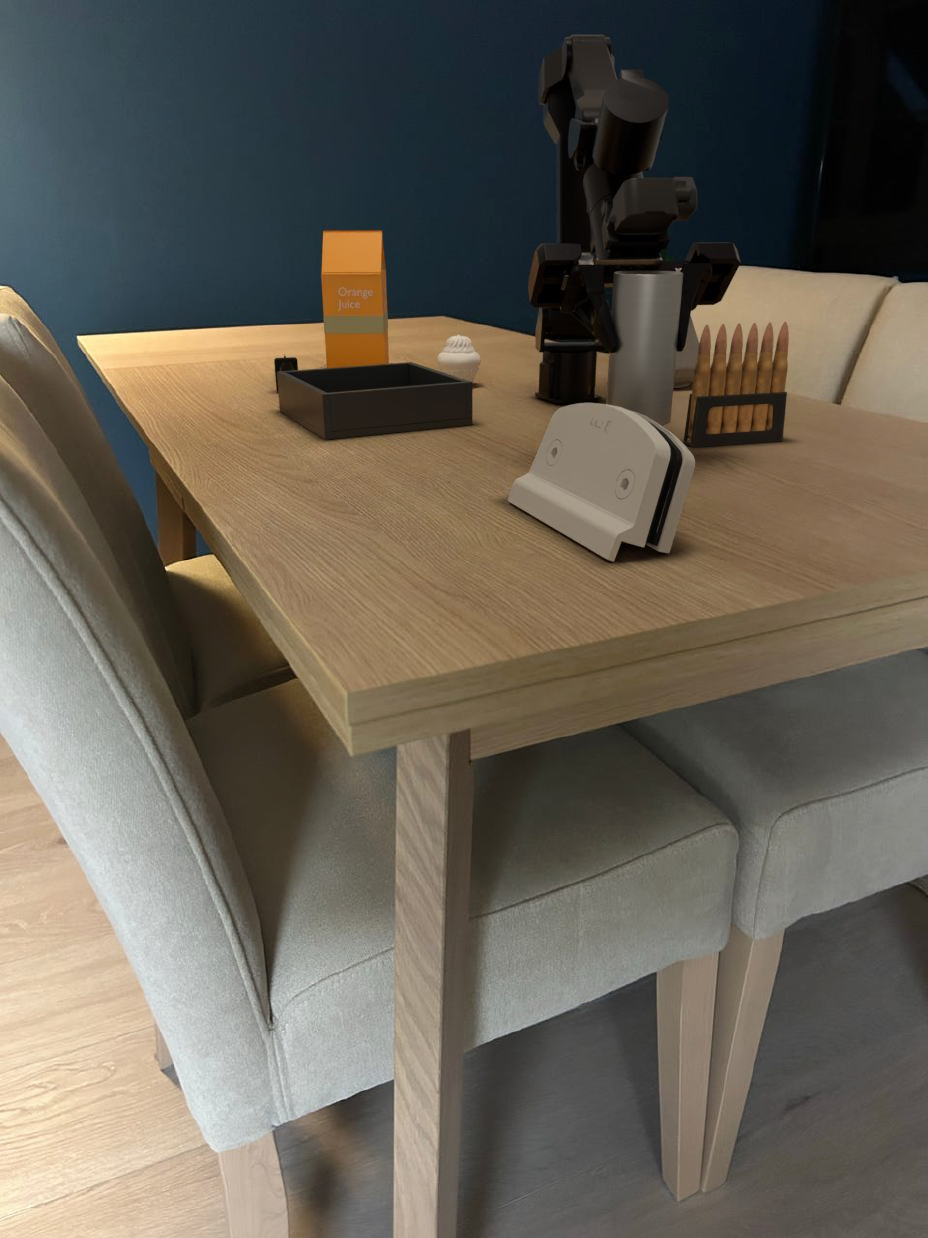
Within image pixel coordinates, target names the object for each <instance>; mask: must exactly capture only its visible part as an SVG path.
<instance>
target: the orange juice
mask: <svg viewBox="0 0 928 1238" xmlns="http://www.w3.org/2000/svg"><path fill="white" fill-rule="evenodd" d="M321 256H322V258H321V271H320V279H321V292H322V293H321V295H322V309H323V310H322V311H323V312H322V313H323V332H324V333H323V334H324V344H325V360H326V362H325V363H326V368H335V367H349V366H363V365H377V364H390V353H389V352H390V351H389V315H388V294H387V269H386V268H387V267H386V258H385V248H384V238H383V230H380V229H379V230H377V229H375V230H322V253H321Z"/></svg>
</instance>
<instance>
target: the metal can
mask: <svg viewBox="0 0 928 1238" xmlns="http://www.w3.org/2000/svg"><path fill="white" fill-rule="evenodd" d="M682 282H683V273H682V272H675V271H648V270H639V271H617V272H614V280H613V287H612V297H611V298H612V300H611V312H612V314H611V318H612V321H613V325H614V329H615V335H616V343H617V347H616V350H615V352H614V353H609V352H608V364H607V365H608V366H607V382H606V384H607V385H606V401H605V402H606V403H605V404H608V405H613V406H618V407H622V408H625V409H627V410H629V411H633V412H637V413H639V414H642V415H644V416H646V417H648V418H650V419H652V420H653V421H655V422H656V423H658V424H660V425H661V426H662V427H664V426H666V425H668V424H670V423H671V418H672V409H673V407H672V406H673V396H674V388H673V386H674V375H675V363H676V352H677V340H678V329H679V317H680V305H681V294H682Z"/></svg>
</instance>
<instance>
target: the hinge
mask: <svg viewBox="0 0 928 1238" xmlns="http://www.w3.org/2000/svg"><path fill="white" fill-rule="evenodd" d="M695 468H696V459H695V456H694V454H693V453H692V452H691V451H690V450H689V449H688V447H687V446H686V444H685V443H683V442H682V440H680V439H679V438H678V437H677V436H676V435H675V434H674V433H672V432H671V431H670V430H668V429H667V428H665V426H661V425H660V424H658V423H656V422H655V421H653V420H652V419H650V418H648V417H646V416H644V415H642V414H639V413H637V412H633V411H629V410H627V409H625V408H622V407H618V406H613V405H608V404H606V403H595V402H577V403H571V404H568V405H565V406H561V407H559V408H557V409H556V410H555V411H554V413H553V415H552V416H551V418H550V421H549V423H548V426H547V427H546V431H545V432H544V435H543V437H542V440H541V443H540V444H539V447H538V449H537V451H536V455H535V456H534V459H533V461H532V464H531V466H530V468H529V471H528V472H527V473H525V474H524V475H522V476H520V477H517V478H515V480H514V481H513V482H512V483H513V484H512V486H511V489H510V492H509V495H508V498H507V502H509V503H510V504H512V505H513V506H515V507H517V508H518V509H521V510H522V511H524V512H526V513H527V514H529V515H531V516H532V517H534V518H535V519H538V520H539V521H541V522H542V523H544V524H546V525H548V526H549V527H551V528H552V529H554V530H556V531H557V532H559V533H561V534H563V535H565V536H566V537H568V538H569V539H571V540H573V541H574V542H577V543H578V544H580V545H581V546H584V547H585V548H586V549H588V550H590V551H591V552H593V553H595V554H597V556H598V555H599V556H600V557H602V559H603V558H604V559H605V560H607V561H610V562H612V563H613V562H615V560H616V557H617V554H618V552H619V549H620V547H621V544H622V542H623V543H625V544H630V545H633V546H637V547H641V548H645V546H647V547H649V548H651V549H653V550H655V551H656V552H660V553H665V554H671V553H670V552H671V550H672V546H673V542H674V539H675V536H676V532H677V529H678V526H679V522H680V519H681V516H682V512H683V509H684V505H685V501H686V498H687V495H688V492H689V488H690V484H691V482H692V478H693V474H694V472H695Z"/></svg>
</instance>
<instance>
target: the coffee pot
mask: <svg viewBox="0 0 928 1238" xmlns="http://www.w3.org/2000/svg"><path fill="white" fill-rule="evenodd" d="M699 343H700V340H699V338H698V334H697V331H696V328H695V326H694V322H693V318H692V316H691V314H690V320H689V326H688V332H687V338H686V344H685V347H684V349H683V351H682V352H678V351H677V352H676V363H675V375H674V386H673V389H680V388H686V387H689V386H690V385H691V382H693V379H694V370H695V366H696V362H697V356H698V350H699Z"/></svg>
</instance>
